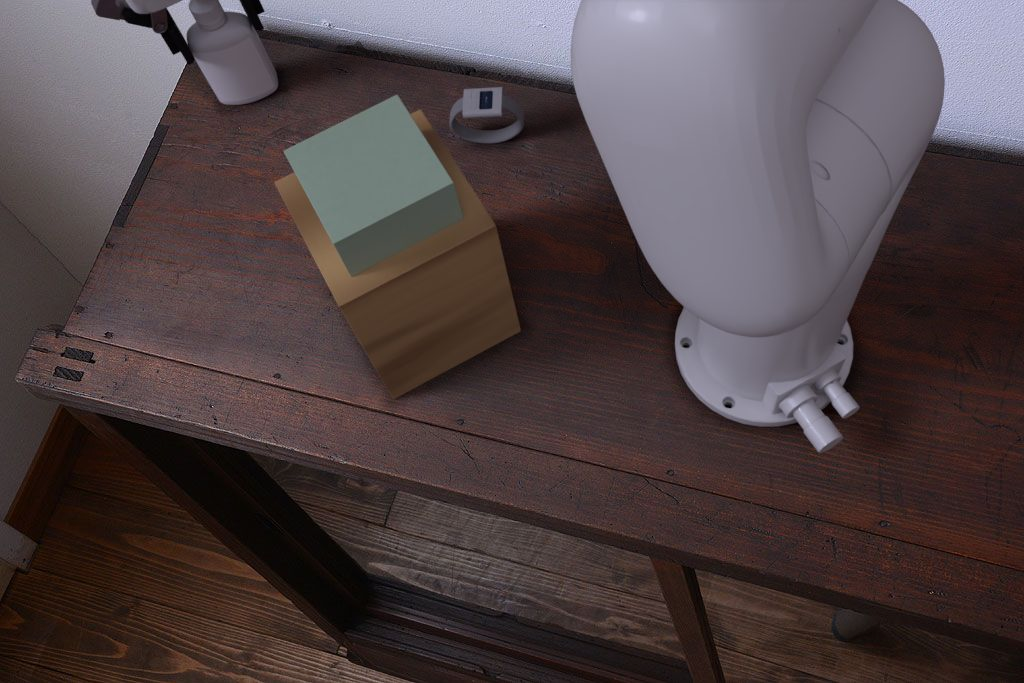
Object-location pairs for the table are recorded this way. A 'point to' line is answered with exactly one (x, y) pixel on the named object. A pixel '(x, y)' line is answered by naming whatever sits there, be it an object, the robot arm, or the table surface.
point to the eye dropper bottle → (230, 54)
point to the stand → (419, 287)
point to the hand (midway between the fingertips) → (220, 35)
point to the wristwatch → (485, 115)
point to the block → (375, 184)
